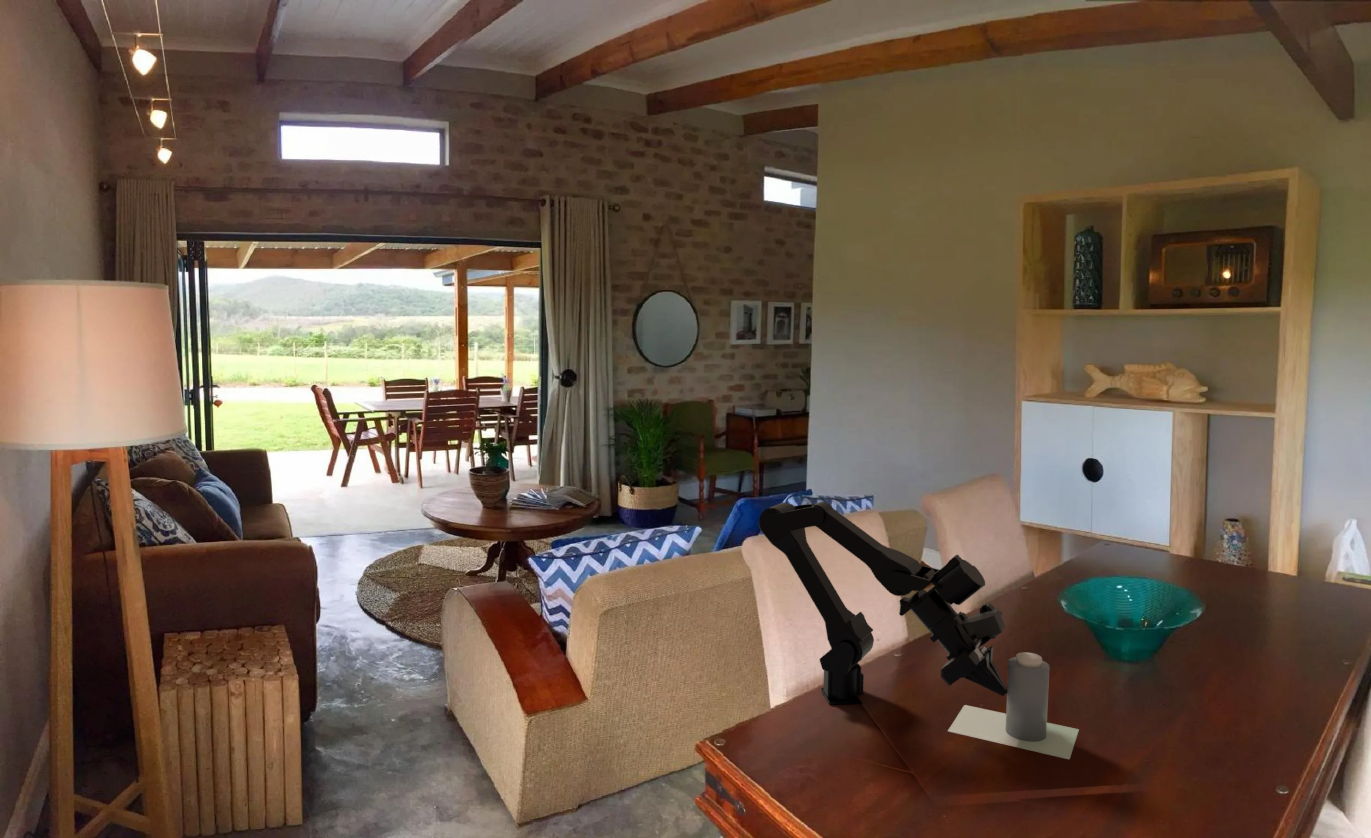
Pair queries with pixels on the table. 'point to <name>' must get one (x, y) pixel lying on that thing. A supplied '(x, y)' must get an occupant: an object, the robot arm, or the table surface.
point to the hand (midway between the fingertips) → (1005, 693)
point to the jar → (1027, 697)
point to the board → (993, 729)
